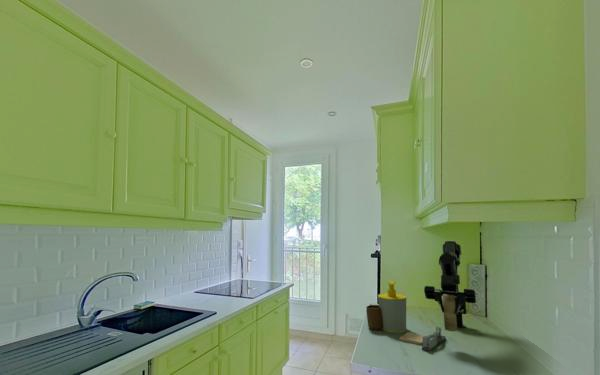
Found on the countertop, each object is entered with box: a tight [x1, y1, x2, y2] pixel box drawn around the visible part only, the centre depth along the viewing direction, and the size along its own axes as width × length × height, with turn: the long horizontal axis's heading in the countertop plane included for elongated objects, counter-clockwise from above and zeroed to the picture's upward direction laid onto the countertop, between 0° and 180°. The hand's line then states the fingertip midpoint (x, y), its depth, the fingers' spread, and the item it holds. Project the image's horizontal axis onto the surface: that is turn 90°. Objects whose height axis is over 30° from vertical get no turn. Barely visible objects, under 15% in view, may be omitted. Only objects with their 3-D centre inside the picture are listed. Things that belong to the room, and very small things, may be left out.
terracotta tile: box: [399, 332, 425, 346], centre depth 128 cm, size 9×9×1 cm
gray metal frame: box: [421, 326, 446, 353], centre depth 123 cm, size 19×3×4 cm, turn 139°
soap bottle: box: [377, 281, 407, 334], centre depth 145 cm, size 13×13×21 cm
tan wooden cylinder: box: [442, 294, 458, 332], centre depth 120 cm, size 4×4×13 cm
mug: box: [365, 304, 383, 331], centre depth 147 cm, size 12×8×9 cm, turn 1°
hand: (449, 312), depth 119 cm, fingers closed on tan wooden cylinder, 4 cm apart
